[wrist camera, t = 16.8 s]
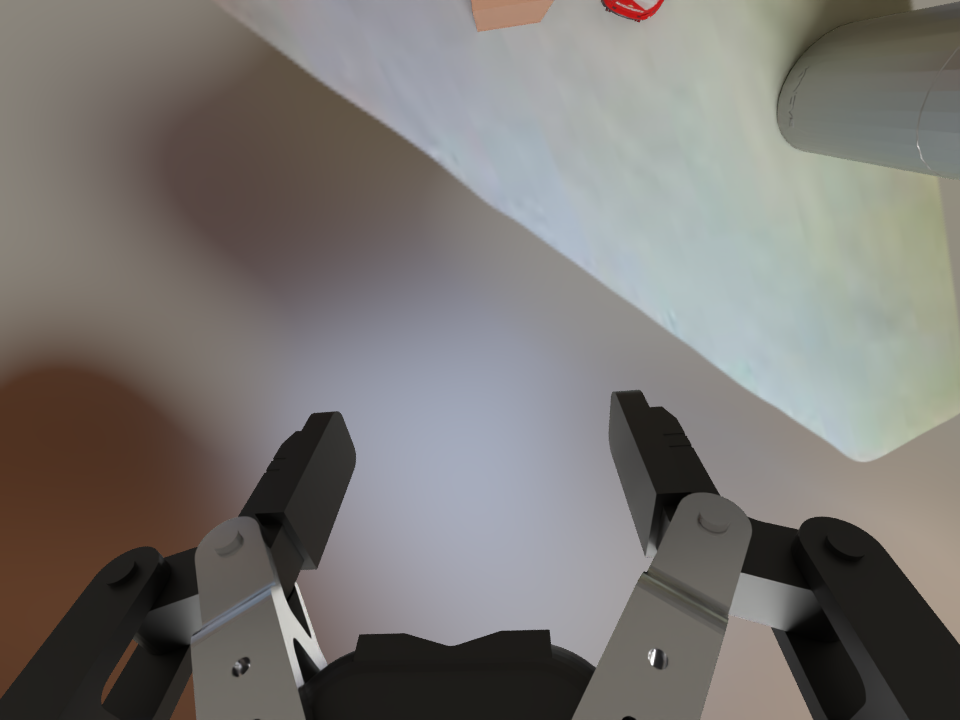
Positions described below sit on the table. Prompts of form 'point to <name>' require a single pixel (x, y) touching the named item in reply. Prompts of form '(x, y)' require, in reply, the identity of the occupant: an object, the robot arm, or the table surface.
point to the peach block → (508, 12)
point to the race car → (633, 8)
